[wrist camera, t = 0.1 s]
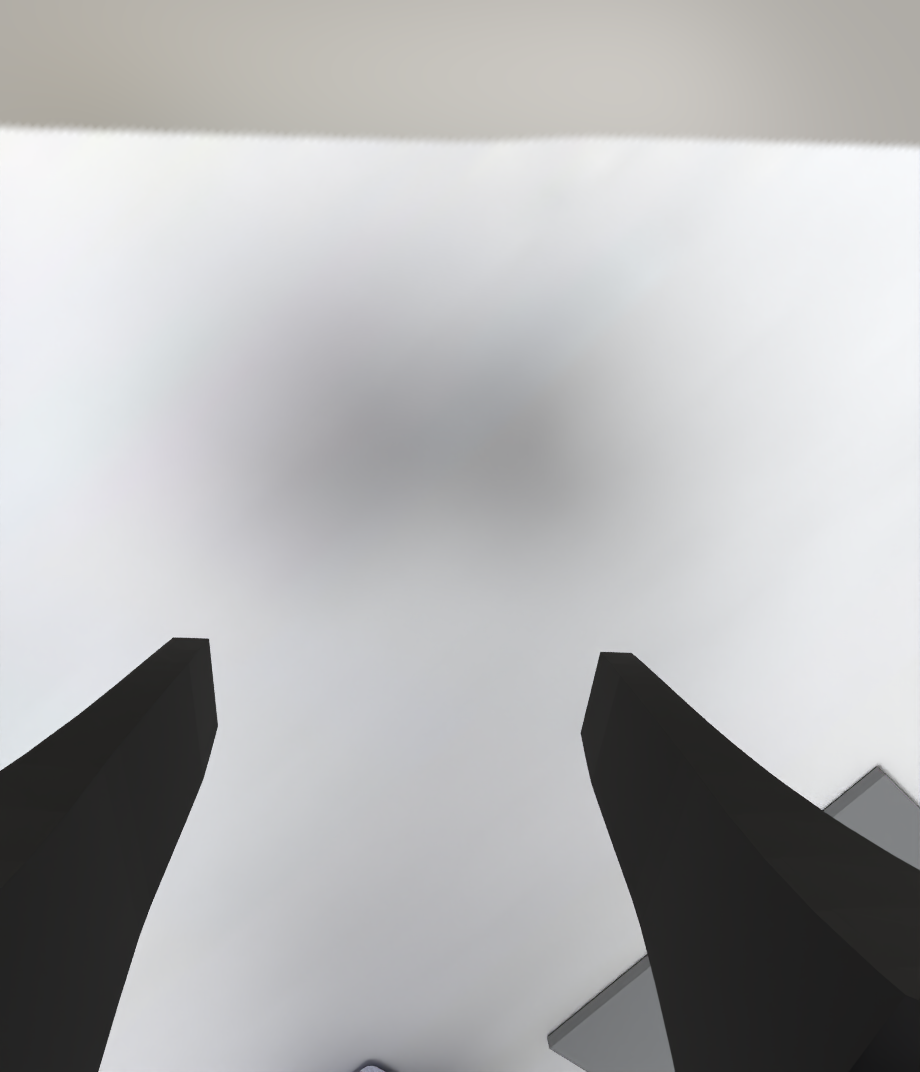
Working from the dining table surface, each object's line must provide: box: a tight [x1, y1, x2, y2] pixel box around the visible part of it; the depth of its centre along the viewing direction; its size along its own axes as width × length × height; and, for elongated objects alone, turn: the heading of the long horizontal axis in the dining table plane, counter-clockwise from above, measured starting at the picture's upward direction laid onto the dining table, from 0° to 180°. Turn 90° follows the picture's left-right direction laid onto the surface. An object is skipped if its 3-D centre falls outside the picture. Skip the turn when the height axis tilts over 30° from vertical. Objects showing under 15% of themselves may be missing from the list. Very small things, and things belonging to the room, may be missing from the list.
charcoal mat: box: [547, 767, 920, 1072], centre depth 30 cm, size 20×16×1 cm
